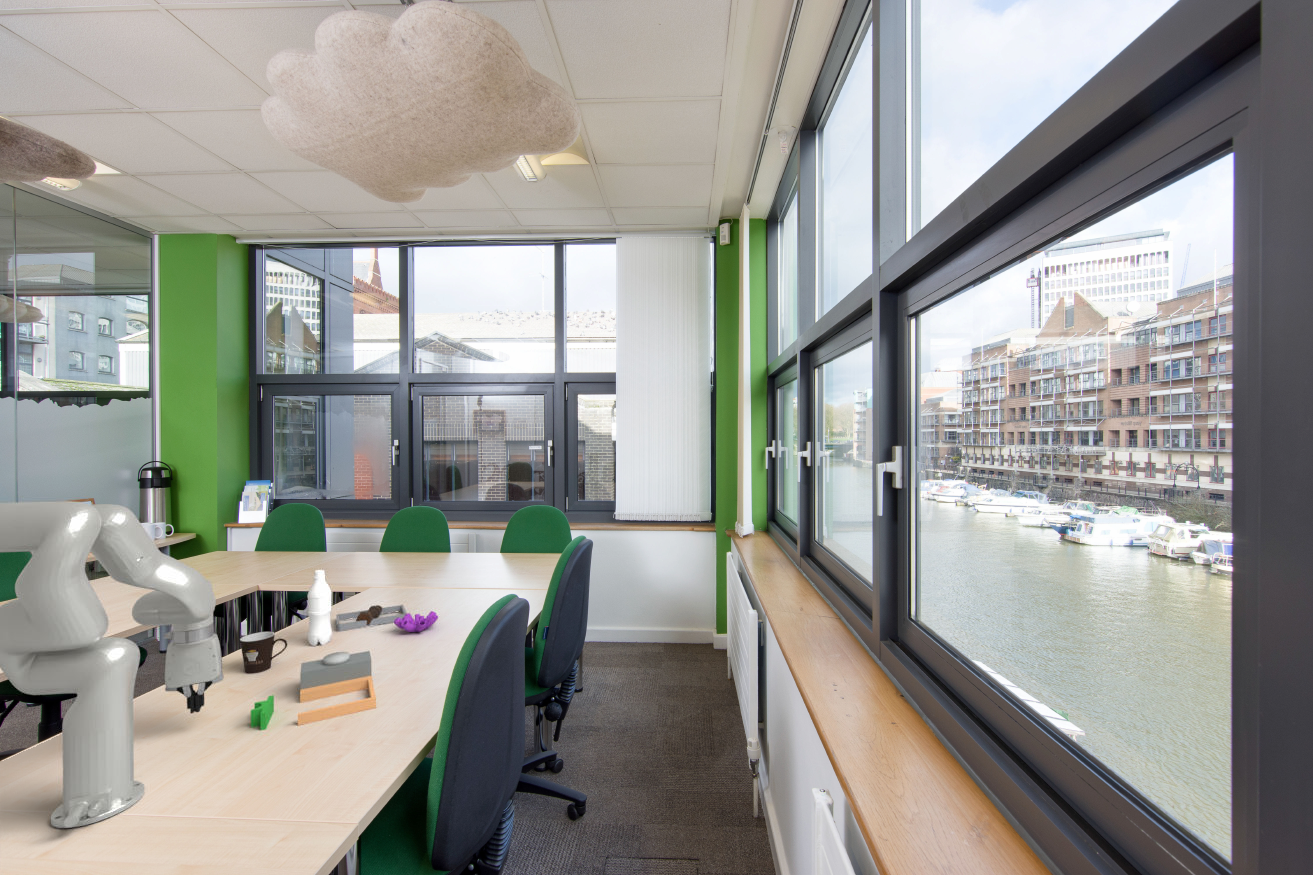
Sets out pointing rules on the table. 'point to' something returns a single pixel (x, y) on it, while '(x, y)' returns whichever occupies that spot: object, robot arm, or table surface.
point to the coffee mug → (258, 651)
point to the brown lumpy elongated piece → (370, 614)
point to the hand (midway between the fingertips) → (196, 709)
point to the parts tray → (364, 622)
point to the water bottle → (319, 610)
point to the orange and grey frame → (336, 684)
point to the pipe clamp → (262, 713)
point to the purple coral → (416, 622)
